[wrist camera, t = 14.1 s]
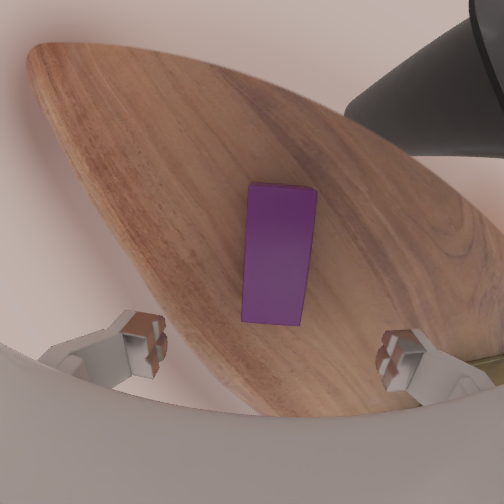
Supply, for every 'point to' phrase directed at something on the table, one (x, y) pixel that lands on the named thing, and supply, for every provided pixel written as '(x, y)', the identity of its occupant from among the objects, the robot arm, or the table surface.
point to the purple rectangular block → (277, 252)
